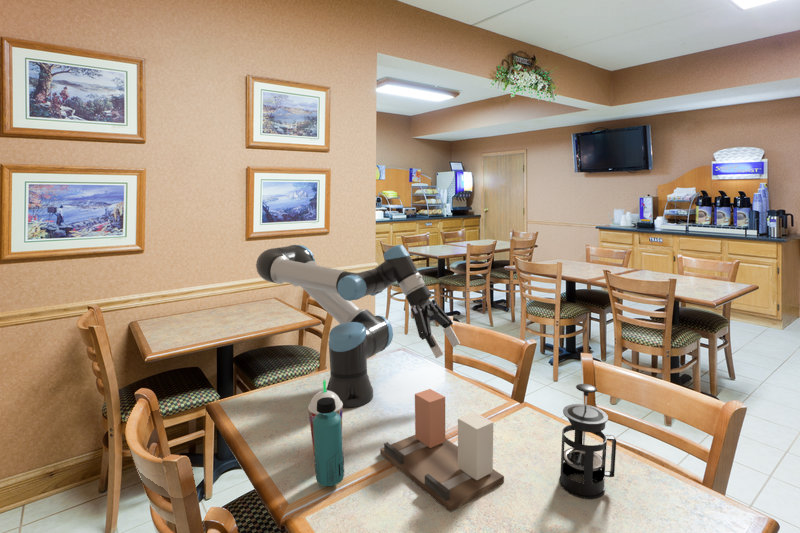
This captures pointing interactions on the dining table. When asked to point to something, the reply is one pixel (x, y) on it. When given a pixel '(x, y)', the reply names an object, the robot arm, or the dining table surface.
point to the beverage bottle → (328, 443)
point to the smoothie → (313, 406)
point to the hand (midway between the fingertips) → (448, 350)
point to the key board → (438, 471)
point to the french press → (585, 449)
